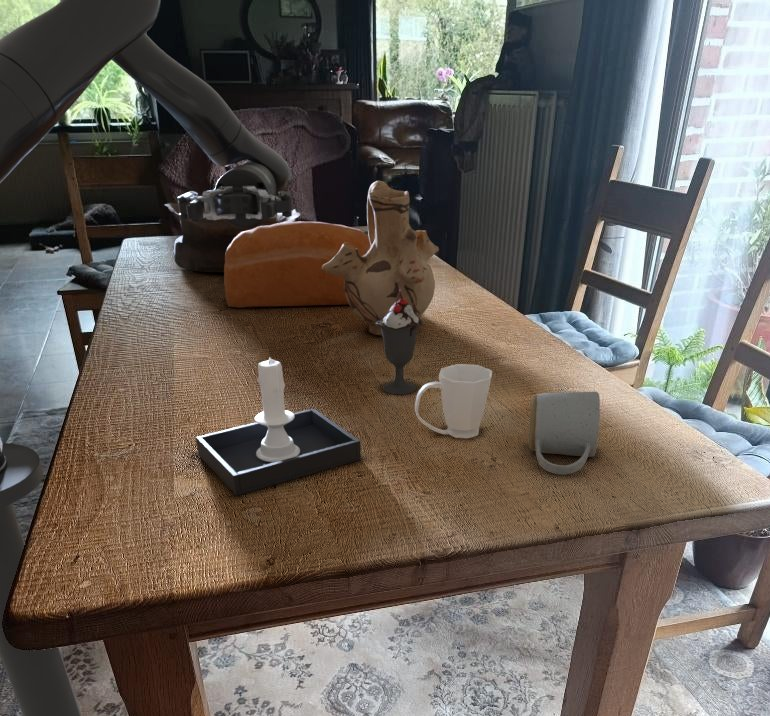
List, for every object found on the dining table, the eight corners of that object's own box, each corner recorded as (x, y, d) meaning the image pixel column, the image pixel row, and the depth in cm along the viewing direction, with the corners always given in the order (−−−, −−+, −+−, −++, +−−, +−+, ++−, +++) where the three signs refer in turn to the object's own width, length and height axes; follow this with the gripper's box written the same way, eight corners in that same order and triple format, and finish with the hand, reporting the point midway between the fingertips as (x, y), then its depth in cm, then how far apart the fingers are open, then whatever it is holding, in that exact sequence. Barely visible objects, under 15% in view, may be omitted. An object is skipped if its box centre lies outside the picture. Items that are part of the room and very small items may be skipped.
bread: (231, 293, 157) (222, 218, 149) (379, 289, 158) (378, 215, 150) (223, 310, 145) (213, 229, 137) (383, 305, 147) (382, 225, 139)
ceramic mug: (526, 436, 91) (531, 379, 87) (591, 440, 90) (600, 382, 86) (525, 475, 82) (531, 414, 78) (597, 480, 81) (608, 419, 77)
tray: (236, 496, 79) (233, 476, 77) (198, 455, 88) (195, 436, 86) (361, 459, 86) (360, 440, 85) (314, 425, 95) (313, 408, 94)
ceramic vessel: (323, 339, 127) (316, 187, 114) (363, 312, 143) (360, 175, 130) (420, 350, 122) (423, 192, 109) (450, 320, 137) (456, 178, 124)
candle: (263, 442, 89) (253, 350, 83) (304, 444, 89) (297, 351, 82) (250, 461, 85) (239, 365, 79) (294, 464, 84) (286, 367, 78)
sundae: (393, 400, 102) (393, 295, 95) (369, 386, 107) (366, 285, 99) (430, 390, 105) (433, 288, 98) (404, 377, 110) (405, 279, 102)
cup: (497, 440, 90) (502, 379, 86) (421, 447, 89) (422, 386, 85) (480, 418, 96) (483, 361, 92) (408, 425, 95) (408, 367, 90)
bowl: (191, 258, 198) (186, 200, 191) (309, 264, 197) (309, 206, 191) (149, 275, 167) (143, 206, 160) (290, 282, 166) (289, 213, 160)
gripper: (191, 166, 98) (164, 179, 84) (294, 164, 98) (285, 177, 84) (199, 224, 102) (175, 246, 88) (298, 222, 102) (290, 243, 88)
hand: (229, 212), depth 86 cm, fingers open, 8 cm apart
